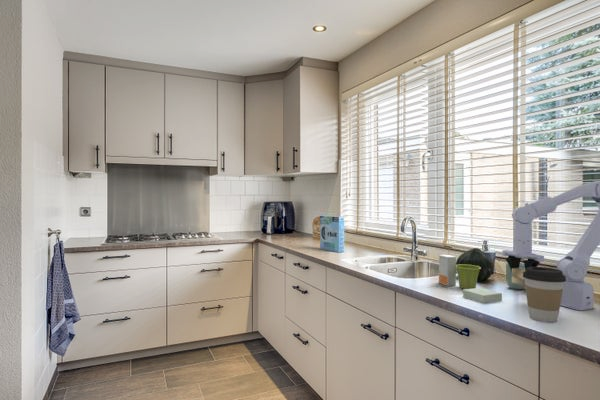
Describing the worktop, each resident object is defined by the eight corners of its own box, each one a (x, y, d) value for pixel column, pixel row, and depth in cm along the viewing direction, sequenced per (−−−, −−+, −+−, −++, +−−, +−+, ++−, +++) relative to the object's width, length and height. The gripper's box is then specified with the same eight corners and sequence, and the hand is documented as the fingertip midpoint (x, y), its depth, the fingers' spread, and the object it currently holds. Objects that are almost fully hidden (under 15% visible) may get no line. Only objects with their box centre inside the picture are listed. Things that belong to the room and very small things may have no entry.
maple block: (532, 284, 137) (532, 269, 137) (523, 285, 135) (523, 270, 135) (520, 281, 141) (520, 267, 141) (511, 282, 139) (511, 268, 139)
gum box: (344, 252, 251) (344, 216, 251) (338, 252, 248) (338, 216, 248) (325, 248, 267) (325, 215, 267) (319, 249, 264) (319, 215, 264)
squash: (470, 262, 186) (460, 240, 179) (502, 268, 174) (492, 245, 167) (457, 284, 180) (446, 263, 173) (489, 292, 168) (478, 269, 161)
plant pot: (481, 287, 159) (482, 265, 159) (479, 291, 151) (479, 269, 151) (457, 284, 164) (457, 263, 164) (453, 288, 156) (453, 267, 155)
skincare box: (438, 282, 166) (438, 254, 165) (446, 282, 167) (447, 254, 167) (447, 286, 160) (447, 257, 160) (456, 285, 161) (456, 256, 161)
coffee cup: (548, 313, 124) (549, 266, 124) (575, 325, 113) (576, 273, 113) (513, 313, 124) (514, 266, 124) (536, 325, 113) (537, 273, 112)
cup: (503, 288, 157) (503, 263, 157) (508, 285, 163) (509, 261, 163) (524, 291, 152) (525, 266, 152) (529, 288, 157) (530, 263, 157)
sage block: (501, 301, 139) (501, 293, 139) (483, 304, 135) (483, 295, 135) (480, 295, 147) (480, 287, 147) (463, 297, 143) (463, 289, 143)
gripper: (496, 238, 143) (496, 275, 143) (534, 243, 129) (533, 284, 130) (510, 237, 145) (509, 274, 146) (548, 242, 132) (547, 282, 132)
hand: (521, 278), depth 138 cm, fingers closed on maple block, 4 cm apart
